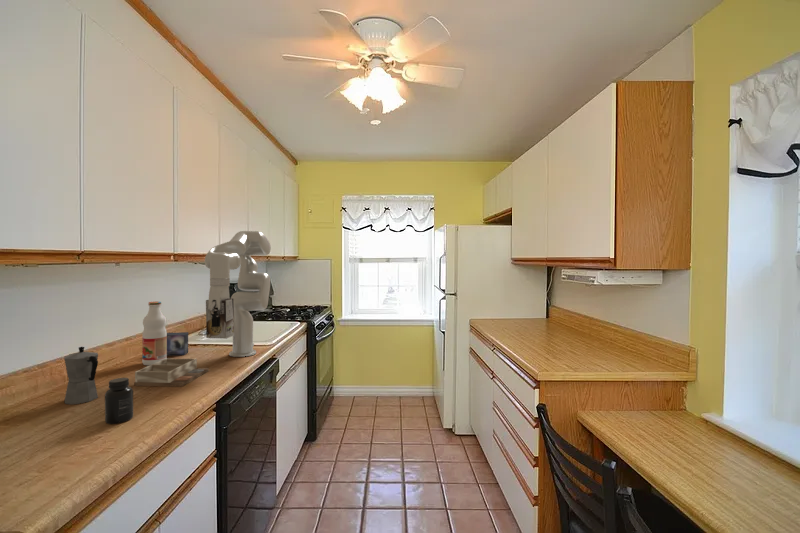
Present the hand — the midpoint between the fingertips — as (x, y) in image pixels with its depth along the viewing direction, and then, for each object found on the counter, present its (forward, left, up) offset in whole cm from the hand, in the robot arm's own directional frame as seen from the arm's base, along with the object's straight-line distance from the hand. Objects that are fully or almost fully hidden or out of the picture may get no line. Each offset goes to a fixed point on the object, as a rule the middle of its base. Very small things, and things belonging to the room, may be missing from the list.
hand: (220, 324), depth 162 cm
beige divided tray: (+8, -15, -21) cm, 27 cm away
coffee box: (0, 0, -6) cm, 6 cm away
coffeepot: (+33, -31, -21) cm, 50 cm away
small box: (-29, -36, -21) cm, 51 cm away
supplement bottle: (+48, -8, -21) cm, 53 cm away
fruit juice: (-13, -36, -21) cm, 44 cm away
